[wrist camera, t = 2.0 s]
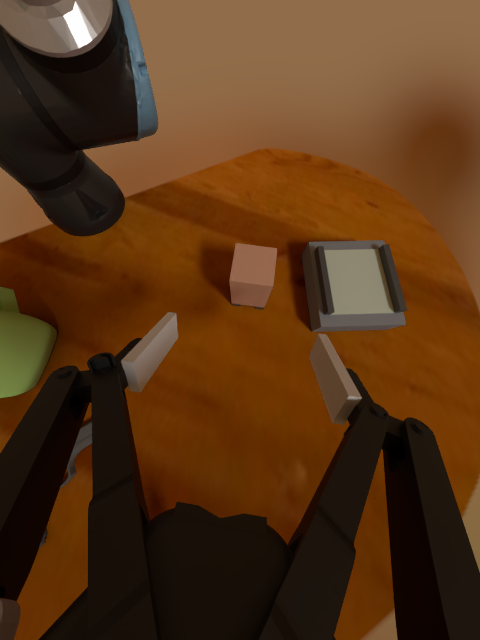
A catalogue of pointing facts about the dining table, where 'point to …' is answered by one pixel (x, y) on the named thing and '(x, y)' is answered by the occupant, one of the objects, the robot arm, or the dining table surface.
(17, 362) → the teapot
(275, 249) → the block
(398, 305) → the step
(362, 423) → the robot arm
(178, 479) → the dining table surface
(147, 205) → the dining table surface
